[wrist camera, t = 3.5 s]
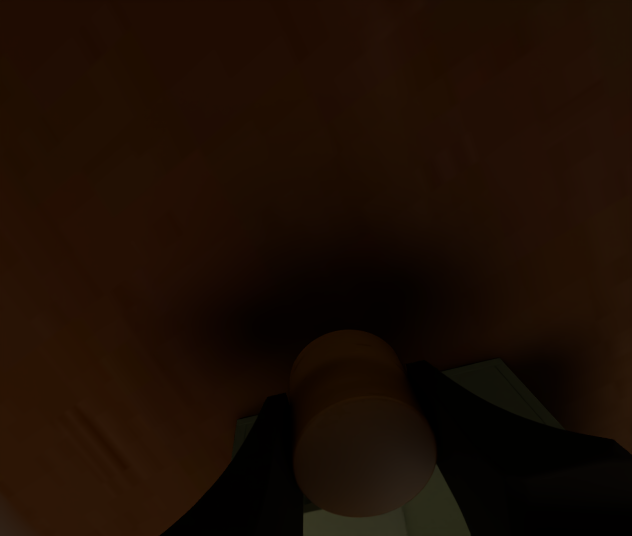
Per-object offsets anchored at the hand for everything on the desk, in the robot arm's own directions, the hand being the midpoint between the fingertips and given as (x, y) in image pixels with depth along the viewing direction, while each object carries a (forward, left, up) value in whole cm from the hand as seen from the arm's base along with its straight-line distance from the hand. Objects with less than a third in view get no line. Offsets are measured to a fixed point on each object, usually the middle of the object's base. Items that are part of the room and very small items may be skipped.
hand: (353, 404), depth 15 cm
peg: (0, 0, -1) cm, 1 cm away
